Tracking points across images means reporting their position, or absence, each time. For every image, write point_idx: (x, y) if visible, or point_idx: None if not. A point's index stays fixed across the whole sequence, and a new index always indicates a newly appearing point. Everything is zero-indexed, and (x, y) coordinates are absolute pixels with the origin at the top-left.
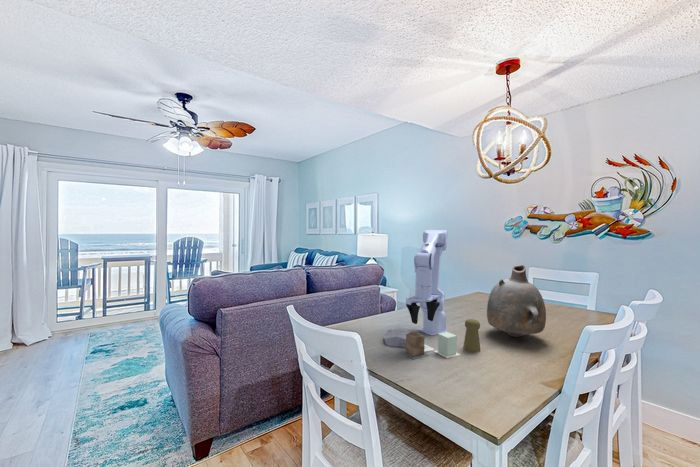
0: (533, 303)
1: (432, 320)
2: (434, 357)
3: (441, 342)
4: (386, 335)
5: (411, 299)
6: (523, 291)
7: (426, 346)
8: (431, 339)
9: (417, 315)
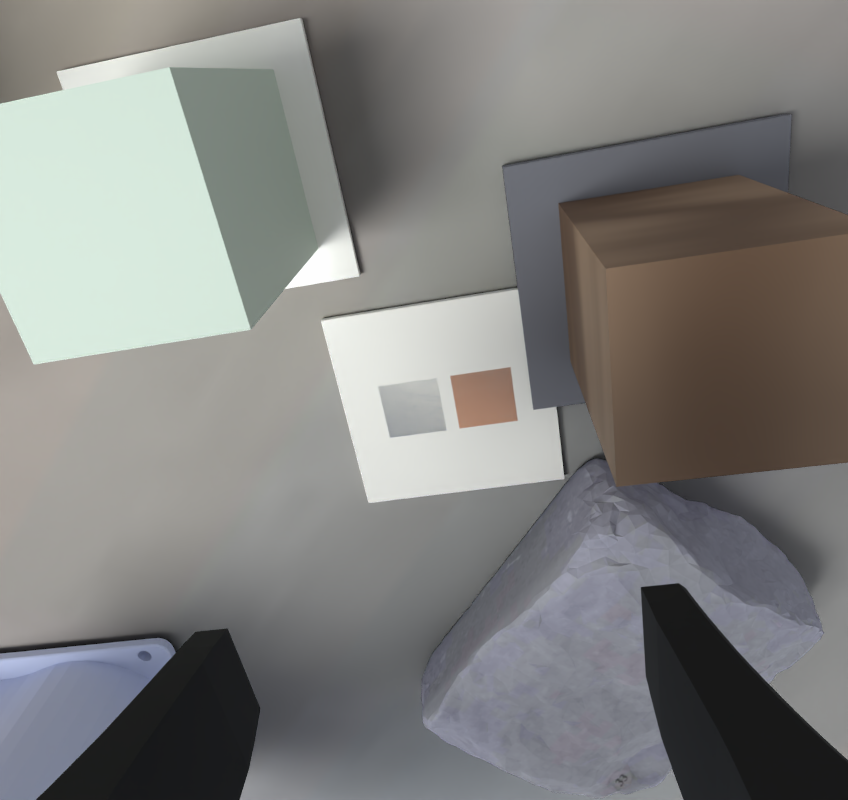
0: None
1: (200, 638)
2: (453, 111)
3: (263, 212)
4: None
5: None
6: None
7: (375, 417)
8: (207, 566)
9: (746, 739)
